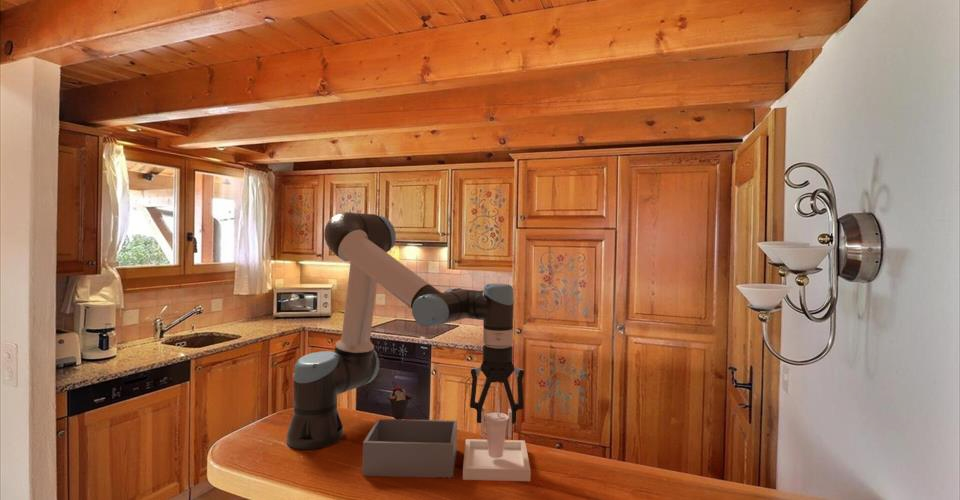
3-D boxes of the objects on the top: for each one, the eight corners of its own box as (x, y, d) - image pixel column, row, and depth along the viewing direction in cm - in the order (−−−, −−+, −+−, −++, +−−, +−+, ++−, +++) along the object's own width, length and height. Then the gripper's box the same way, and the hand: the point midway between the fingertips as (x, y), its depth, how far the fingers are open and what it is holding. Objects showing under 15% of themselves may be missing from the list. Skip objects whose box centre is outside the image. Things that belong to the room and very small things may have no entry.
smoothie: (506, 461, 111) (507, 405, 111) (480, 458, 113) (481, 403, 112) (509, 450, 118) (510, 396, 117) (485, 447, 119) (486, 394, 119)
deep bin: (362, 475, 108) (363, 442, 108) (377, 448, 123) (377, 418, 123) (452, 477, 108) (453, 444, 108) (456, 449, 123) (457, 420, 122)
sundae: (382, 431, 134) (383, 381, 133) (401, 425, 139) (401, 376, 138) (396, 438, 129) (397, 386, 129) (414, 431, 134) (415, 381, 134)
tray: (462, 479, 107) (462, 468, 107) (465, 448, 123) (465, 439, 123) (530, 481, 107) (530, 469, 107) (524, 450, 123) (524, 440, 123)
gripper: (459, 347, 111) (457, 440, 111) (537, 349, 111) (535, 442, 111) (460, 340, 119) (459, 428, 119) (534, 342, 118) (532, 430, 119)
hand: (496, 435), depth 115 cm, fingers closed on smoothie, 6 cm apart
